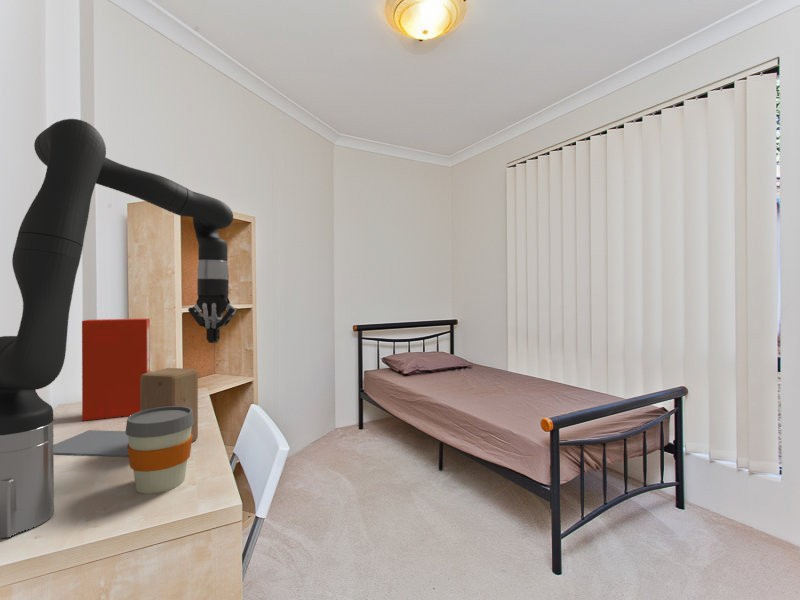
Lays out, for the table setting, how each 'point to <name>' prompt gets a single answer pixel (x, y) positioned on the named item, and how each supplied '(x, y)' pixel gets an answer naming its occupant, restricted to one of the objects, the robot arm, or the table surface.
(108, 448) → the mat
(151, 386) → the wooden block
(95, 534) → the table surface
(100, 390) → the file binder
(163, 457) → the reusable coffee cup
